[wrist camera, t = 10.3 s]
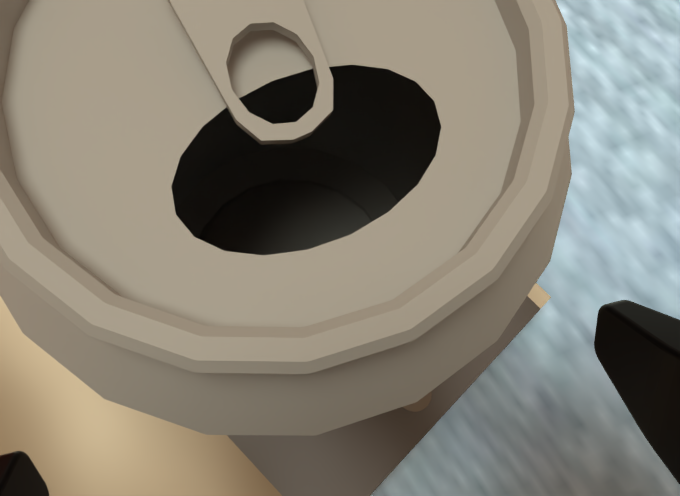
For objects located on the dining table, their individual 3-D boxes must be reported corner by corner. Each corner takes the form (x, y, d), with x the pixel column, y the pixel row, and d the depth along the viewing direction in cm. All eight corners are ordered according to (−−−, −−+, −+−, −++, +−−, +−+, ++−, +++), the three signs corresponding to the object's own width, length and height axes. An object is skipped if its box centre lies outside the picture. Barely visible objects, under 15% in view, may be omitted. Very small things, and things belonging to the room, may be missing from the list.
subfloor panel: (92, 781, 15) (68, 825, 14) (-177, 441, 17) (-226, 446, 15) (532, 304, 19) (552, 297, 17) (278, 62, 20) (276, 36, 19)
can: (226, 456, 16) (8, 646, 4) (124, 219, 17) (-255, -136, 6) (462, 335, 17) (805, 218, 5) (348, 121, 18) (423, -338, 7)
